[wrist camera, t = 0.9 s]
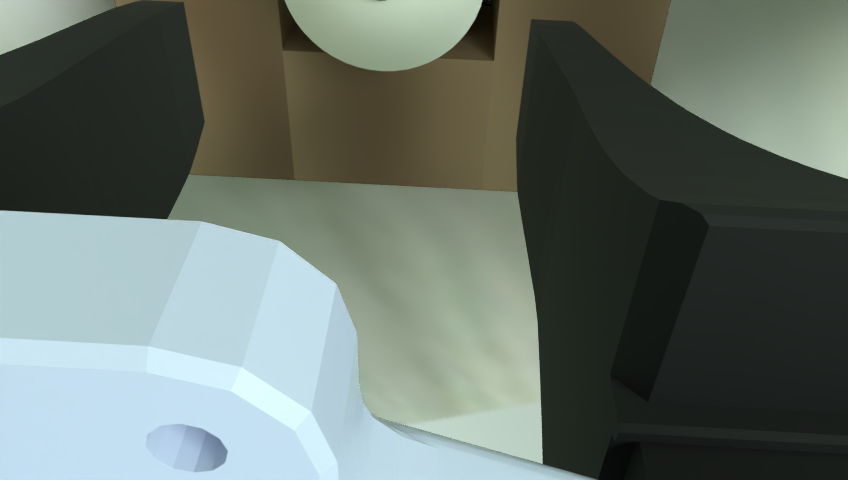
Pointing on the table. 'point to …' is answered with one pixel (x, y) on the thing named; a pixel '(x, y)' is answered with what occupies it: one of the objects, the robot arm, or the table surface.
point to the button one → (385, 29)
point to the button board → (382, 94)
